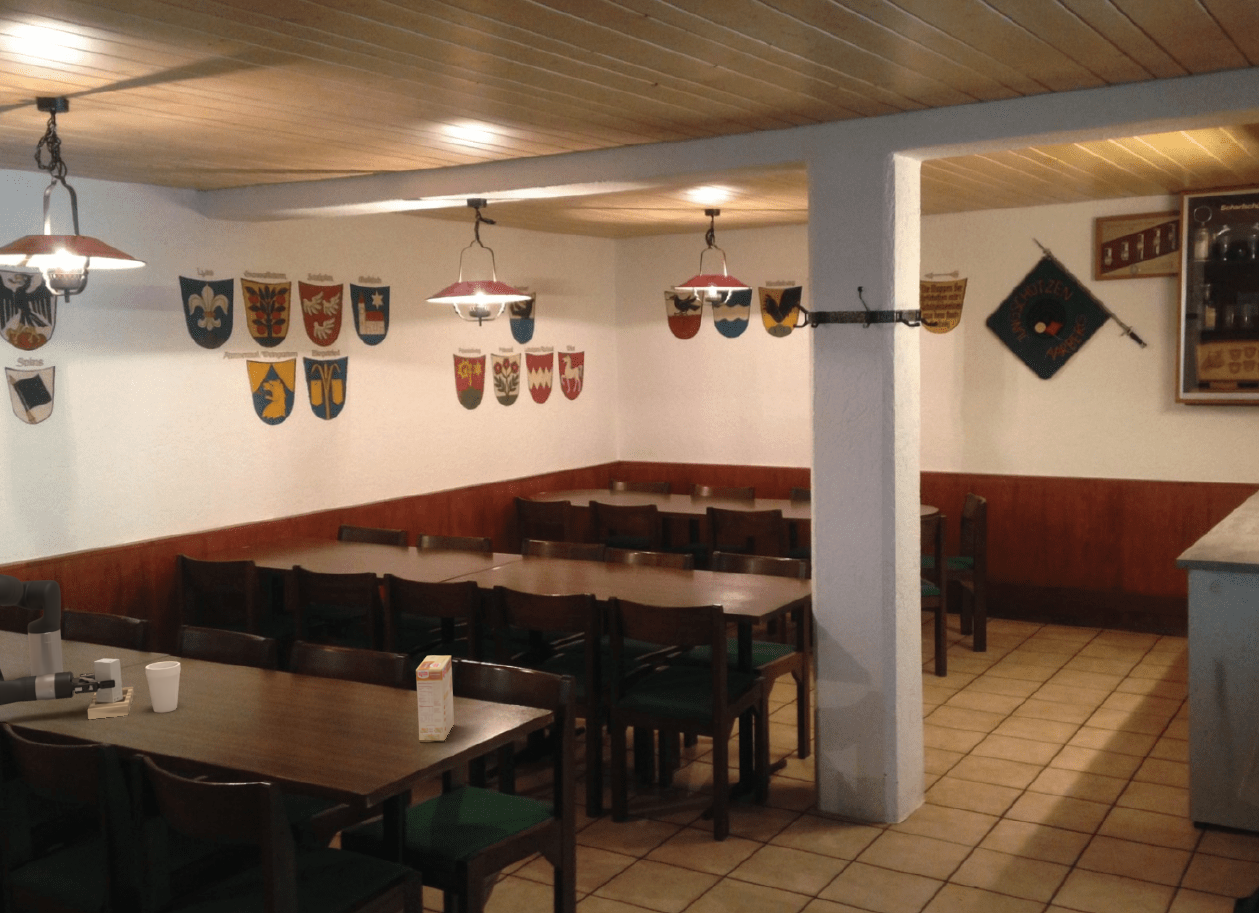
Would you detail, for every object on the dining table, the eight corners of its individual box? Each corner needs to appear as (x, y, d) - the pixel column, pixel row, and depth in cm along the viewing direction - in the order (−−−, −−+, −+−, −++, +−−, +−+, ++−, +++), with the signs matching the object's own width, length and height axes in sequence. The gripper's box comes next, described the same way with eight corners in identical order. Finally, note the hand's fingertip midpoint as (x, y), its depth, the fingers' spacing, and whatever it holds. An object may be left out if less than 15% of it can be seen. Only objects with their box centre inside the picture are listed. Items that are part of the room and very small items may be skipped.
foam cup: (189, 706, 352) (187, 663, 351) (165, 715, 343) (162, 670, 342) (165, 703, 356) (163, 660, 355) (140, 712, 347) (138, 667, 346)
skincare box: (123, 699, 350) (120, 659, 349) (112, 703, 346) (109, 662, 345) (106, 698, 352) (103, 657, 351) (95, 702, 348) (92, 661, 347)
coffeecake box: (429, 725, 327) (426, 655, 326) (455, 725, 327) (452, 654, 325) (417, 743, 312) (414, 669, 311) (445, 742, 312) (442, 668, 310)
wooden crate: (96, 700, 361) (95, 690, 361) (133, 696, 364) (133, 686, 364) (88, 720, 340) (87, 709, 340) (128, 716, 344) (127, 705, 343)
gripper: (50, 679, 337) (113, 673, 342) (57, 667, 351) (117, 661, 356) (52, 705, 338) (115, 698, 343) (59, 692, 351) (119, 686, 356)
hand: (116, 680), depth 349 cm, fingers open, 8 cm apart
